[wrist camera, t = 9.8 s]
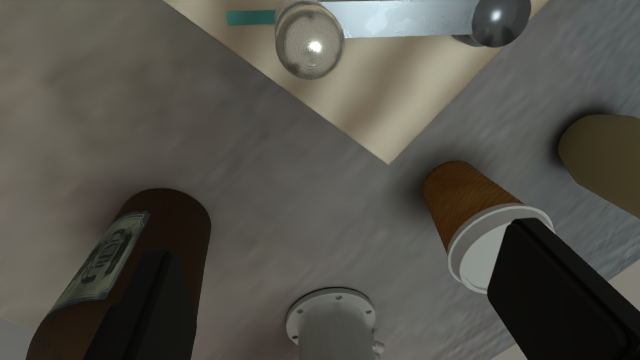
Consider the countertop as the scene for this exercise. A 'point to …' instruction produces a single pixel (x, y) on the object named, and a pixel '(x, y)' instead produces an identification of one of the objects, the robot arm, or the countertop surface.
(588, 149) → the squeeze bottle
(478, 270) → the disposable coffee cup
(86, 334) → the olive oil
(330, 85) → the lever board
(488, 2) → the lever
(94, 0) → the countertop surface
